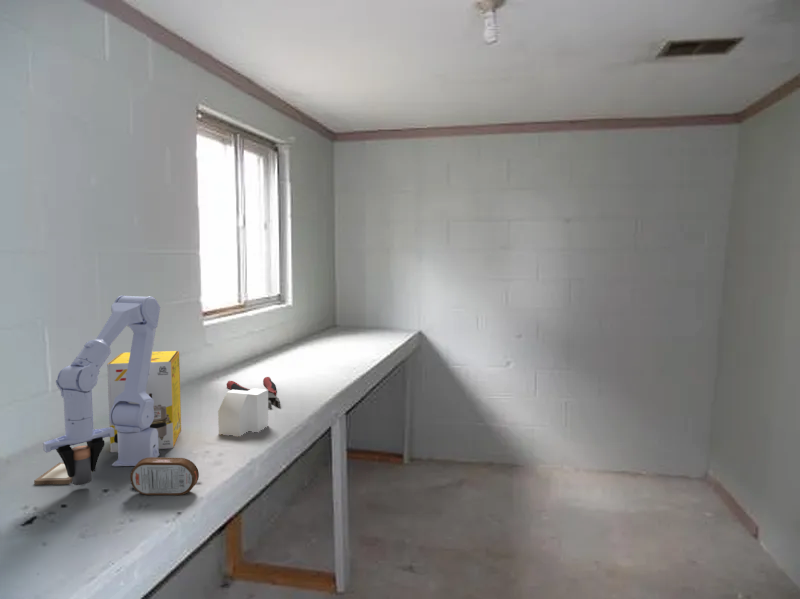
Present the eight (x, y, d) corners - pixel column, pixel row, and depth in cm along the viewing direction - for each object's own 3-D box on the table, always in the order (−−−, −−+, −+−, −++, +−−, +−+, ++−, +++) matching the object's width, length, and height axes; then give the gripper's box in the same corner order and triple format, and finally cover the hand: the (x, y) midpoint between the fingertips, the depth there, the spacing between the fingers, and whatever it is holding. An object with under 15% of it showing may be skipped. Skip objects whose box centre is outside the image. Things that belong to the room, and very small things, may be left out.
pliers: (299, 407, 200) (299, 398, 200) (250, 413, 192) (250, 404, 191) (269, 383, 233) (269, 375, 233) (226, 388, 224) (226, 380, 224)
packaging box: (110, 452, 153) (107, 363, 151) (124, 433, 169) (121, 352, 166) (173, 448, 157) (170, 361, 154) (181, 429, 173) (179, 350, 170)
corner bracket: (268, 426, 177) (268, 389, 176) (249, 438, 166) (249, 399, 165) (239, 423, 180) (238, 386, 178) (218, 434, 169) (217, 396, 168)
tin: (199, 490, 130) (198, 456, 129) (195, 496, 127) (194, 461, 126) (135, 490, 130) (133, 456, 129) (128, 496, 127) (127, 461, 126)
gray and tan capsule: (94, 477, 132) (93, 445, 131) (86, 485, 128) (85, 451, 127) (77, 477, 132) (76, 445, 131) (68, 485, 128) (67, 451, 127)
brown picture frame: (91, 465, 144) (91, 461, 144) (69, 484, 133) (68, 479, 133) (59, 466, 143) (59, 462, 143) (34, 484, 132) (34, 480, 132)
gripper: (105, 406, 136) (107, 459, 138) (37, 420, 126) (41, 477, 127) (116, 412, 132) (119, 467, 133) (47, 427, 121) (50, 486, 122)
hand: (81, 473), depth 130 cm, fingers closed on gray and tan capsule, 4 cm apart
